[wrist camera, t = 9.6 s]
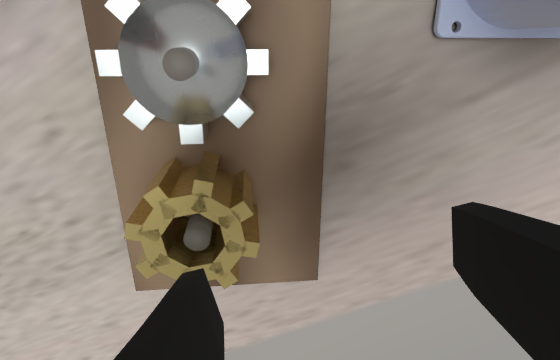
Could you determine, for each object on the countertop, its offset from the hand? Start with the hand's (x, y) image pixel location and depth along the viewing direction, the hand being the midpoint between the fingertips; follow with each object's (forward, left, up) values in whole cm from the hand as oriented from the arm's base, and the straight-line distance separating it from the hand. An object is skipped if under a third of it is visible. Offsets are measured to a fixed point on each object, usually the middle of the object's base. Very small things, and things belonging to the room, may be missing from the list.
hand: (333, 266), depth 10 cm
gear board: (+4, 0, -10) cm, 11 cm away
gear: (+5, -5, -9) cm, 12 cm away
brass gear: (+5, +2, -9) cm, 11 cm away
